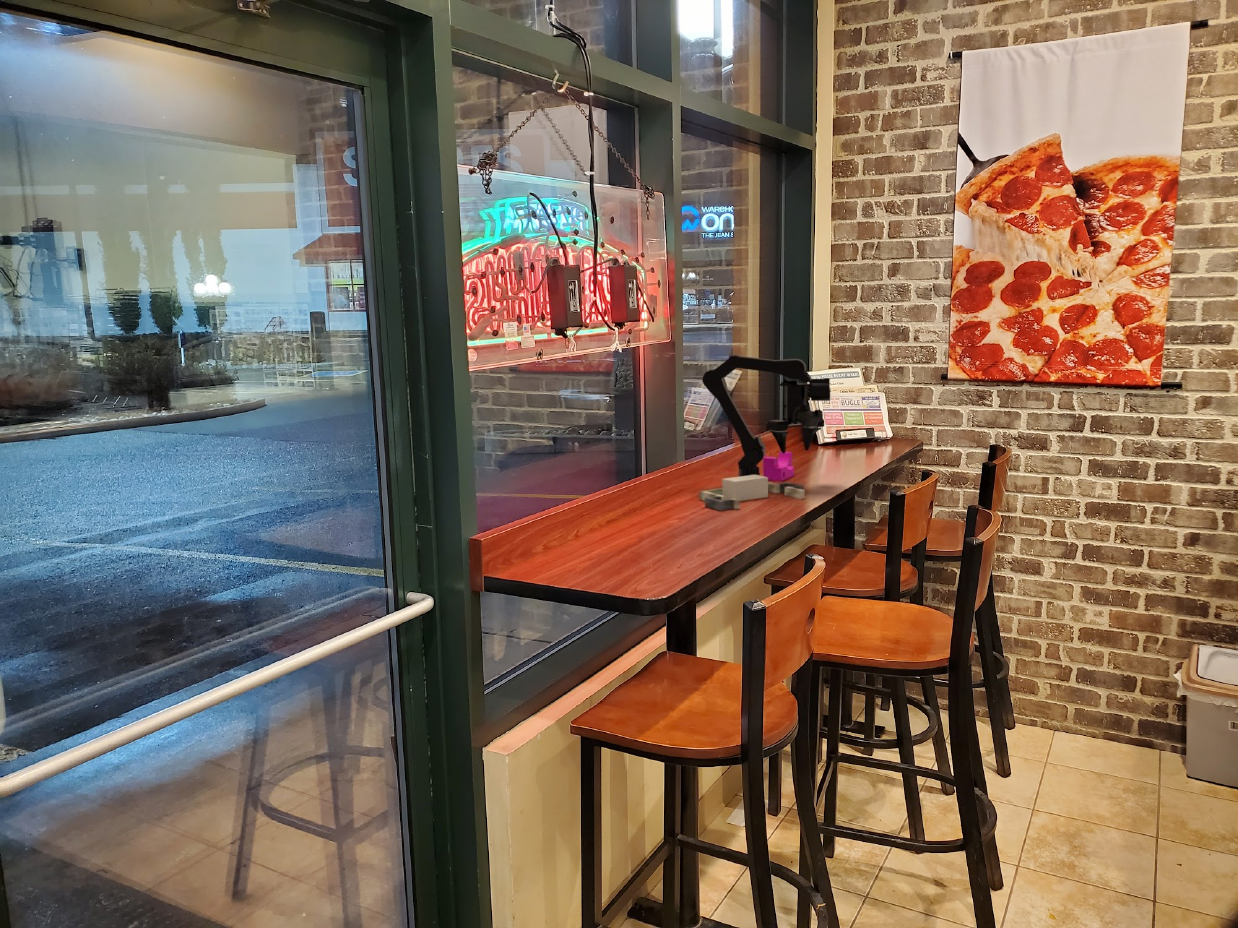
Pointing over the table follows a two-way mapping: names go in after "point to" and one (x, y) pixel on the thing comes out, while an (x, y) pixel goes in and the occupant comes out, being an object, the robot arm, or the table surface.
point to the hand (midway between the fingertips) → (795, 451)
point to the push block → (745, 487)
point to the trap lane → (718, 501)
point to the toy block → (778, 467)
